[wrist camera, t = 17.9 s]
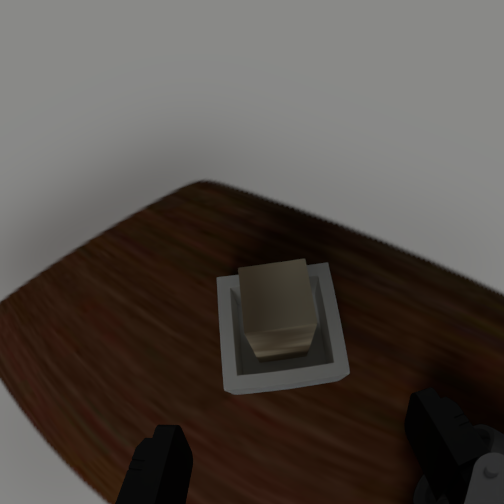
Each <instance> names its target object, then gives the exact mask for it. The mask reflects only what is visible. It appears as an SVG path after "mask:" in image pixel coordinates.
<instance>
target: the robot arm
mask: <svg viewBox="0 0 504 504" xmlns="http://www.w3.org/2000/svg"><path fill="white" fill-rule="evenodd" d="M405 432H406V436H407V438H408V440H409V442H410V444H411V446H412V449H413V451H414V453H415V455H416V457H417V459H418V461H419V464H420V466H421V468H422V470H423V472H424V474H425V477H426V479H427V481H428V483H429V486H430V488H431V490H432V492H433V495H434V497H435V499H436V502H438V501H440V500H443V499H445V498H447V499H448V501H449V504H504V455H502V454H500V453H492V452H491V451H490V450H489V449H488V448H487V446H486V445H485V443H484V442H483V440H482V439H481V437H480V436H479V434H478V433H477V431H476V430H475V428H474V427H473V425H472V424H471V423H469V420H468V418H467V417H466V415H464V413H463V411H462V410H461V408H460V407H459V406H458V404H457V403H455V402H454V401H452V400H451V399H449V398H448V397H443V398H440V397H439V395H438V394H437V392H436V391H435V390H434V389H433V388H427V389H424V390H421V391H418V392H414V393H412V394H411V396H410V400H409V405H408V410H407V414H406V418H405ZM192 467H193V456H192V451H191V449H190V447H189V444H188V442H187V440H186V438H185V435H184V433H183V431H182V428H181V427H180V426H179V425H158V426H157V427H156V429H155V432H154V435H153V438H145V439H144V440H143V441H142V442H141V443H140V444H139V445H138V446H137V447H136V449H135V452H134V455H133V457H132V461H131V463H130V465H129V470H128V471H127V473H126V476H125V479H124V482H123V484H122V487H121V490H120V493H119V495H118V498H117V501H116V503H115V504H186V498H187V493H188V488H189V482H190V477H191V472H192Z"/></svg>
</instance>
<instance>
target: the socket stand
mask: <svg viewBox="0 0 504 504" xmlns="http://www.w3.org/2000/svg"><path fill="white" fill-rule="evenodd" d="M307 270H308V275H309V280H310V285H311V291H312V296H313V301H314V307H315V312H316V318H317V326H316V329H315V332H314V336H313V339H312V342H311V345H310V348H309V351H308V354H307V356H305V357H299V358H292V359H285V360H278V361H270V362H262V363H259V361H258V359H257V357H256V355H255V353H254V351H253V349H252V347H251V345H250V344H249V342H248V340H247V338H246V336H245V334H244V327H243V316H242V306H241V295H240V284H239V275H233V276H225V277H217V291H218V309H219V326H220V342H221V356H222V370H223V383H224V390H225V391H227V392H230V393H232V394H235V395H237V394H248V393H258V392H267V391H276V390H284V389H291V388H298V387H305V386H311V385H317V384H323V383H329V382H334V381H339V380H341V379H342V378H344V377H345V376H347V375H348V374H350V370H349V364H348V359H347V353H346V347H345V342H344V337H343V331H342V326H341V321H340V316H339V311H338V306H337V301H336V297H335V292H334V287H333V283H332V278H331V274H330V269H329V265H328V262H327V263H320V264H313V265H307Z"/></svg>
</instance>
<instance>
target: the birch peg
mask: <svg viewBox="0 0 504 504" xmlns="http://www.w3.org/2000/svg"><path fill="white" fill-rule="evenodd" d="M238 273H239V284H240V295H241V306H242V316H243V327H244V334H245V336H246V338H247V340H248V342H249V344H250V345H251V347H252V349H253V351H254V353H255V355H256V357H257V359H258V361H259V363H262V362H270V361H278V360H285V359H292V358H299V357H305V356H307V354H308V351H309V348H310V345H311V342H312V339H313V336H314V332H315V329H316V326H317V318H316V312H315V307H314V301H313V296H312V291H311V285H310V280H309V275H308V270H307V265H306V260H305V259H298V260H291V261H284V262H277V263H270V264H263V265H256V266H248V267H241V268H238Z"/></svg>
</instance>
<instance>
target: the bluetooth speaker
mask: <svg viewBox="0 0 504 504" xmlns="http://www.w3.org/2000/svg"><path fill="white" fill-rule="evenodd" d="M473 427H474V428H475V430H476V431H477V433H478V434H479V436H480V437H481V439H482V440H483V442H484V443H485V445H486V446H487V448H488V449H489V450H490V451H491V452H492V453H500V454H502V455H504V434H502V433H501V432H499V431H497V430H495V429H494V428H492V427H490V426H487V425H484V424H478V425H475V426H473ZM413 503H414V504H449V501H448V499H447V498H445V499H443V500H440V501H438V502H436V499H435V497H434V495H433V492H432V490H431V488H430V486H429V483H428V481H427V479H426V477H425V474H424V475H423V476H422V477H421V479H420V481H419V482H418V484H417V487H416V489H415V492H414V497H413Z"/></svg>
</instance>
